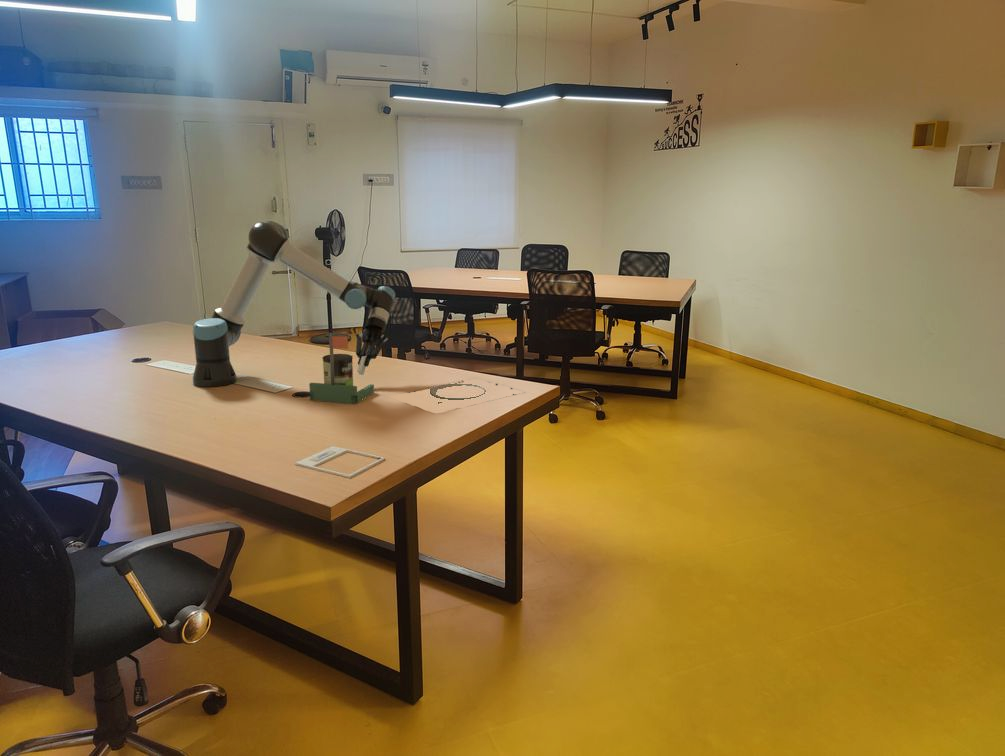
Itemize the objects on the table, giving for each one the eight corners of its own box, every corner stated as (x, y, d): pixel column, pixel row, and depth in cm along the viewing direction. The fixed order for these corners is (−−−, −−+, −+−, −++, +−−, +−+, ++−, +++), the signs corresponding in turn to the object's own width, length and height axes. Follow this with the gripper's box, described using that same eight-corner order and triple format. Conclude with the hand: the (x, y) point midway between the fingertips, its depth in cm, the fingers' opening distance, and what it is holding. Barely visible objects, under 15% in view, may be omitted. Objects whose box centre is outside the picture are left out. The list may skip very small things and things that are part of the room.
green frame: (331, 389, 244) (328, 324, 238) (374, 392, 241) (372, 327, 235) (310, 400, 230) (306, 332, 224) (355, 404, 226) (353, 335, 220)
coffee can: (359, 393, 240) (358, 355, 236) (343, 400, 230) (342, 361, 227) (334, 390, 243) (333, 352, 239) (318, 397, 234) (316, 358, 230)
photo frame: (333, 445, 185) (385, 456, 177) (333, 449, 185) (385, 460, 177) (295, 462, 172) (349, 475, 164) (295, 466, 172) (349, 479, 165)
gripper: (395, 328, 261) (379, 379, 249) (364, 326, 264) (347, 376, 252) (389, 316, 255) (373, 368, 243) (358, 315, 258) (340, 366, 246)
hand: (360, 372), depth 248 cm, fingers closed
